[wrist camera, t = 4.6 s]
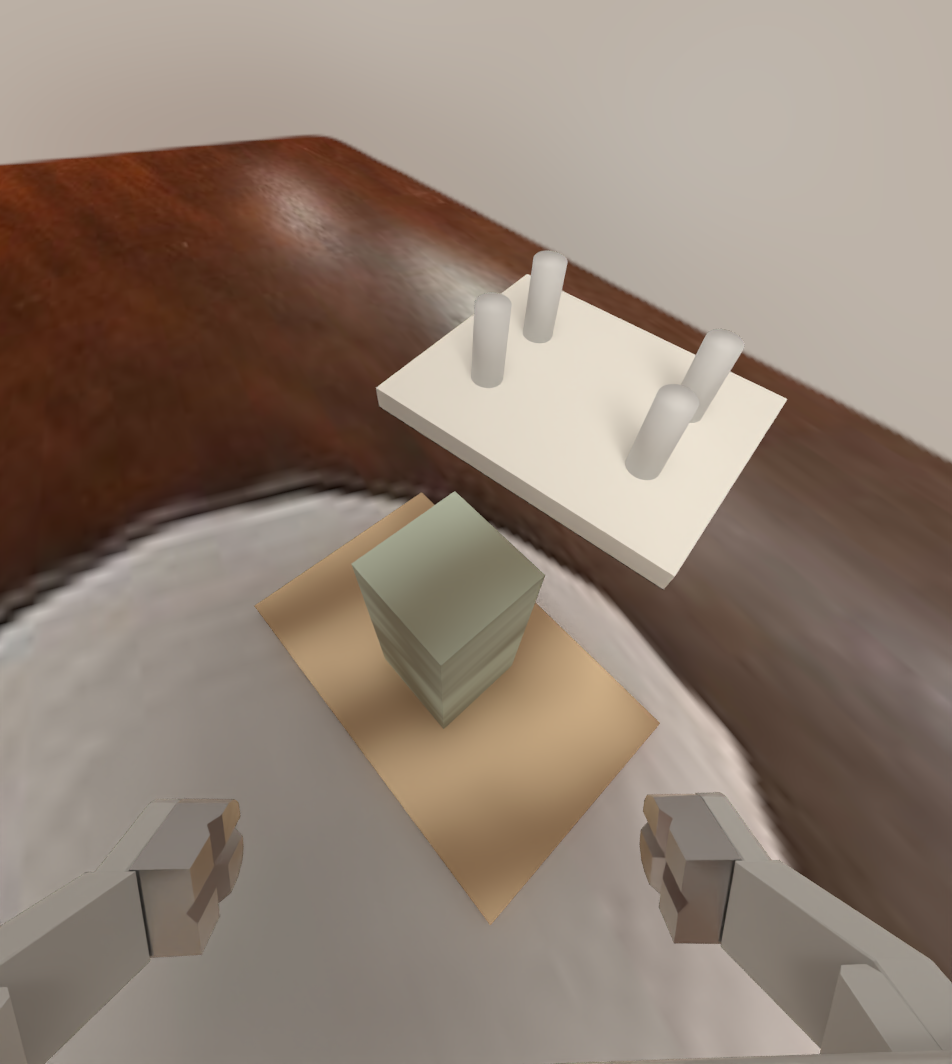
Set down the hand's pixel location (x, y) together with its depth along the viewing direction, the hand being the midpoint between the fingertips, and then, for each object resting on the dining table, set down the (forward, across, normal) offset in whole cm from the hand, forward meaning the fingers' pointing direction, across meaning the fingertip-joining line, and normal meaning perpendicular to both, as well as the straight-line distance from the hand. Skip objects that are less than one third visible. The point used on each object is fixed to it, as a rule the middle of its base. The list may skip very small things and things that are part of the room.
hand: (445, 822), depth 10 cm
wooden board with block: (+13, 0, +4) cm, 13 cm away
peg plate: (+24, -8, -8) cm, 27 cm away
